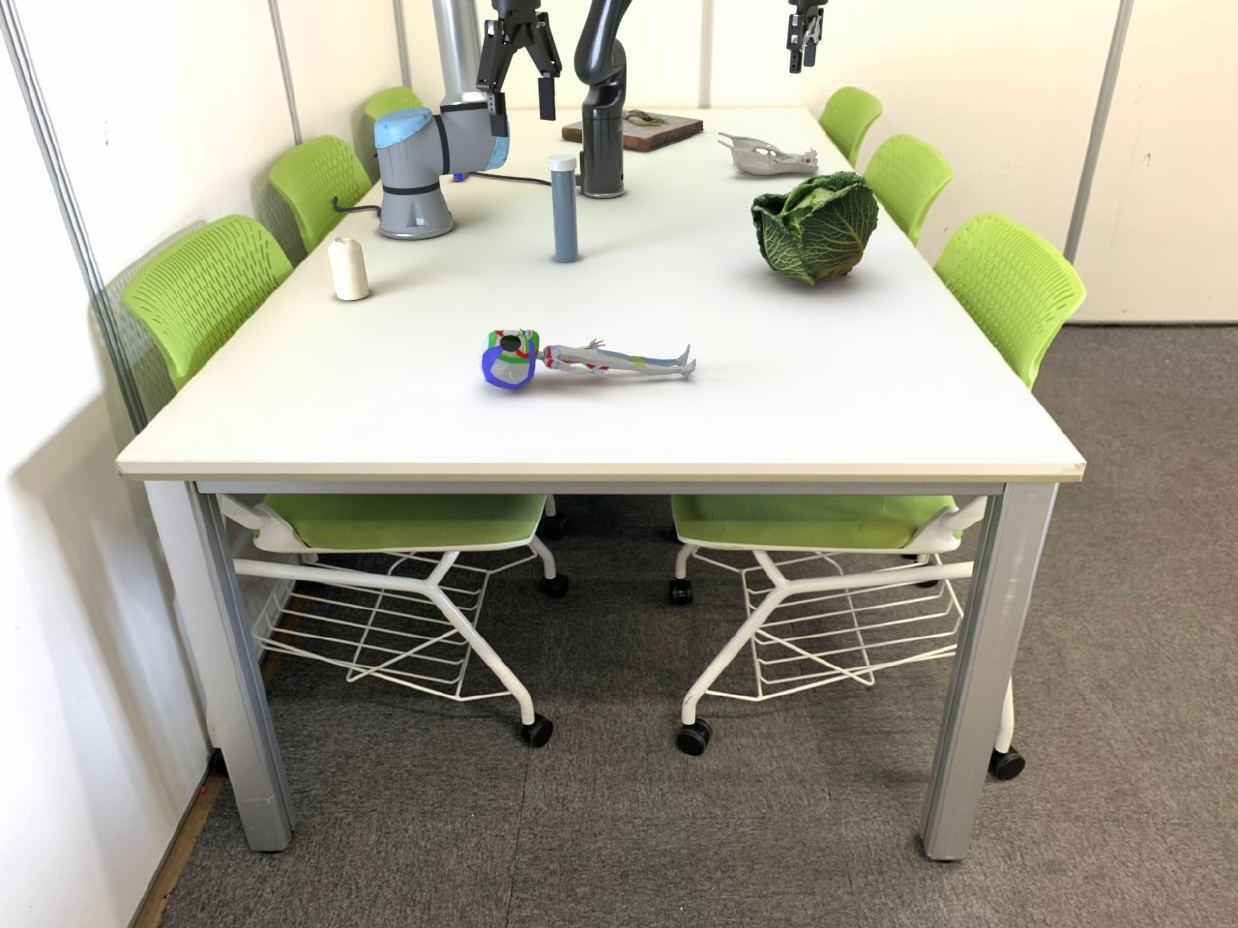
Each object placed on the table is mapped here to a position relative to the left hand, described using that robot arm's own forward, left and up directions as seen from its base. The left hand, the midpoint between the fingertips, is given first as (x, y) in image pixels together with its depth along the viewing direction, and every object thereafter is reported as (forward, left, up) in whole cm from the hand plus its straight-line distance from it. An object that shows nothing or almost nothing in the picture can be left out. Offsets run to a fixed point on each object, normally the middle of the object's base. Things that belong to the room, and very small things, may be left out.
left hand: (524, 128), depth 146 cm
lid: (-3, +14, -8) cm, 17 cm away
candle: (-25, -20, -27) cm, 42 cm away
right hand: (+25, +58, +2) cm, 63 cm away
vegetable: (+41, +27, -27) cm, 56 cm away
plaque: (-44, +110, -27) cm, 122 cm away
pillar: (-61, +56, -27) cm, 88 cm away
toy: (+28, -27, -27) cm, 47 cm away
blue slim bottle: (-3, +14, -27) cm, 31 cm away
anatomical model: (+6, +90, -27) cm, 94 cm away
